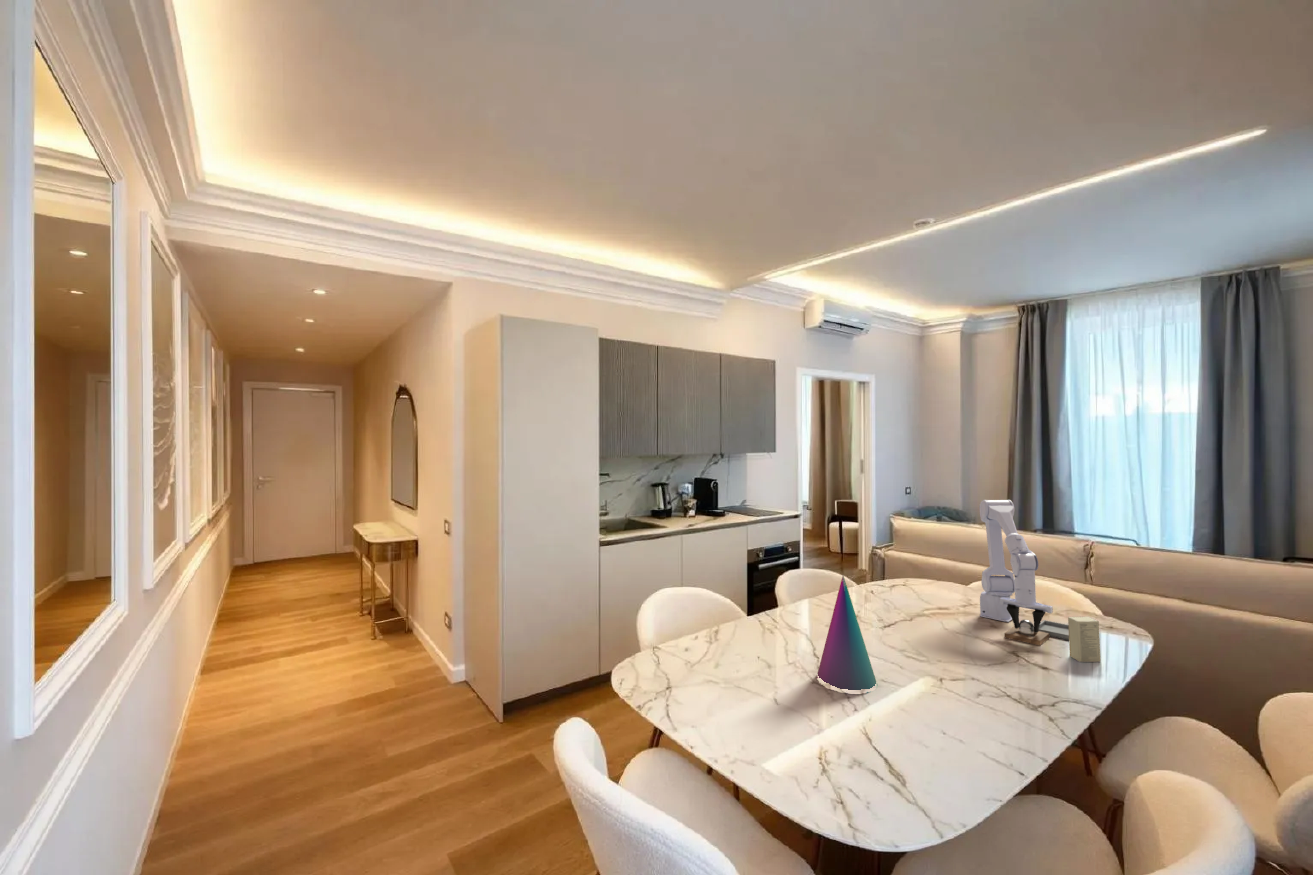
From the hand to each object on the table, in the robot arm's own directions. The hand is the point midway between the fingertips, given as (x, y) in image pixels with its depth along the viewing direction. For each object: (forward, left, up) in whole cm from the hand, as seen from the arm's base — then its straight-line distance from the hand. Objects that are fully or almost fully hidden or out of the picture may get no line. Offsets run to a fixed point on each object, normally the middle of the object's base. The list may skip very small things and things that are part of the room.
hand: (1026, 629), depth 177 cm
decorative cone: (-23, -73, -3) cm, 77 cm away
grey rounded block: (0, 0, -3) cm, 3 cm away
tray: (+6, +13, -3) cm, 15 cm away
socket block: (0, 0, -3) cm, 3 cm away
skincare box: (+17, -8, -3) cm, 19 cm away
